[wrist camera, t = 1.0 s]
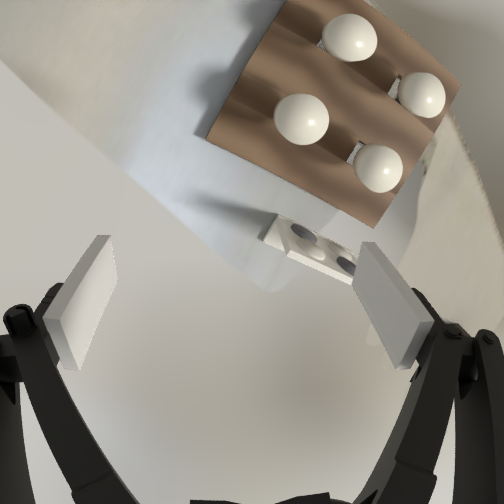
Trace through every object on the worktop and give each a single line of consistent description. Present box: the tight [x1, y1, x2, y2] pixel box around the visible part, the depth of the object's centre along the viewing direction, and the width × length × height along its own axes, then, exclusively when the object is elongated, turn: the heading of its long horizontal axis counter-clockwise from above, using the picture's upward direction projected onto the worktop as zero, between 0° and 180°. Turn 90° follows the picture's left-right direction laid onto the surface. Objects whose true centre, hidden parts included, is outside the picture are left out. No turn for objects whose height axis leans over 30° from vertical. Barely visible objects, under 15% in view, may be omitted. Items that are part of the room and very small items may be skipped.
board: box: [206, 0, 461, 228], centre depth 33 cm, size 24×24×1 cm
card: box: [263, 214, 357, 285], centre depth 39 cm, size 4×12×9 cm, turn 61°
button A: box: [322, 14, 377, 62], centre depth 26 cm, size 5×5×4 cm
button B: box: [398, 72, 445, 118], centre depth 29 cm, size 5×5×4 cm
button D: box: [353, 143, 403, 193], centre depth 33 cm, size 5×5×4 cm
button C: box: [273, 93, 329, 145], centre depth 30 cm, size 5×5×4 cm
